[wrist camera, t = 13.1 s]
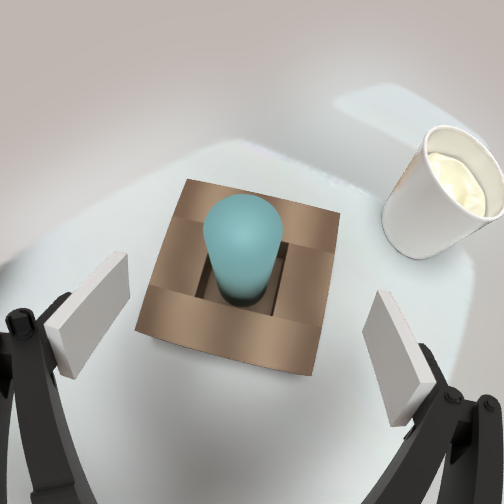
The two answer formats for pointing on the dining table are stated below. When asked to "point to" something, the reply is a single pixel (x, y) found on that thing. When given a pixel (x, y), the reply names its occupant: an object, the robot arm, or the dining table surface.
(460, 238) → the candle holder
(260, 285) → the teal peg
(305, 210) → the walnut block
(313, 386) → the dining table surface
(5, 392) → the robot arm
